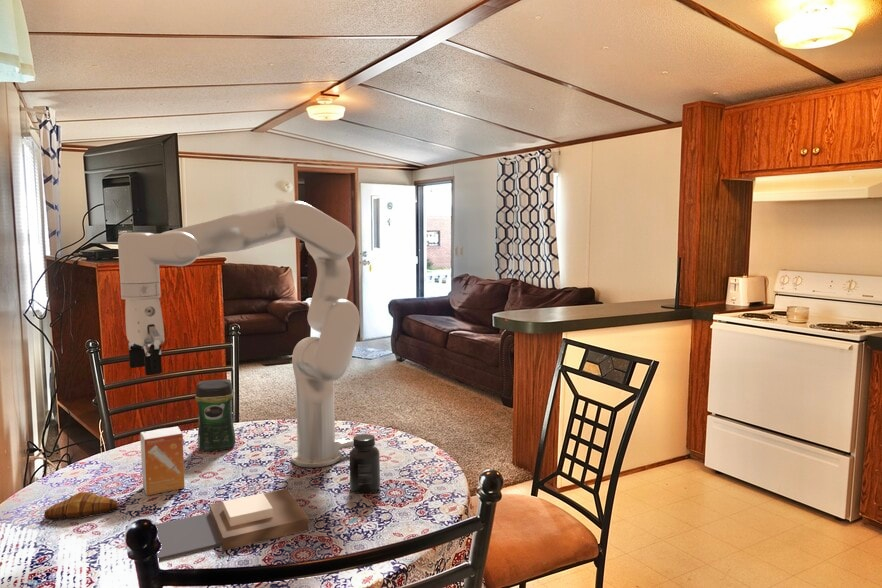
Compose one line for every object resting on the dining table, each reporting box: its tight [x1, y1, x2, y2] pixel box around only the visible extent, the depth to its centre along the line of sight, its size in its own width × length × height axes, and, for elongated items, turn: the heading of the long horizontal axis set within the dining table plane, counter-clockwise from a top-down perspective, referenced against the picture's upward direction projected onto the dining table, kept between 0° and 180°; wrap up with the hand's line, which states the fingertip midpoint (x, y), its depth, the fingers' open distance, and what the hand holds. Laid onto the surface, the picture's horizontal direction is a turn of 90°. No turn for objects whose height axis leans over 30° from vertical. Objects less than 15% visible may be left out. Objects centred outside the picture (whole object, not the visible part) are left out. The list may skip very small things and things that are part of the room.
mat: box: [155, 512, 222, 562], centre depth 116 cm, size 12×14×1 cm
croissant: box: [43, 491, 119, 520], centre depth 126 cm, size 14×7×5 cm, turn 107°
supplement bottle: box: [348, 433, 381, 495], centre depth 138 cm, size 7×7×12 cm
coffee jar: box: [195, 378, 236, 452], centre depth 164 cm, size 10×8×19 cm
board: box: [208, 488, 310, 552], centre depth 122 cm, size 16×16×2 cm
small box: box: [139, 426, 185, 497], centre depth 138 cm, size 8×6×13 cm
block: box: [222, 493, 273, 527], centre depth 120 cm, size 8×8×2 cm
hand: (145, 370), depth 130 cm, fingers open, 9 cm apart
